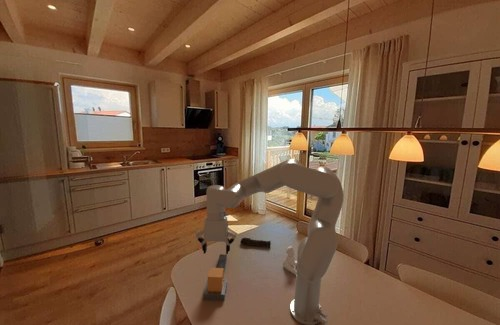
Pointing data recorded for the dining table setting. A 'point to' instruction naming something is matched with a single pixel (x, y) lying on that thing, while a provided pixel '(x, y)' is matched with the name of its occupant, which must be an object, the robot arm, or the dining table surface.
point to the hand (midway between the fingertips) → (216, 252)
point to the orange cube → (216, 279)
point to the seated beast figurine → (290, 261)
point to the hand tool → (255, 242)
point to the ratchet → (221, 295)
